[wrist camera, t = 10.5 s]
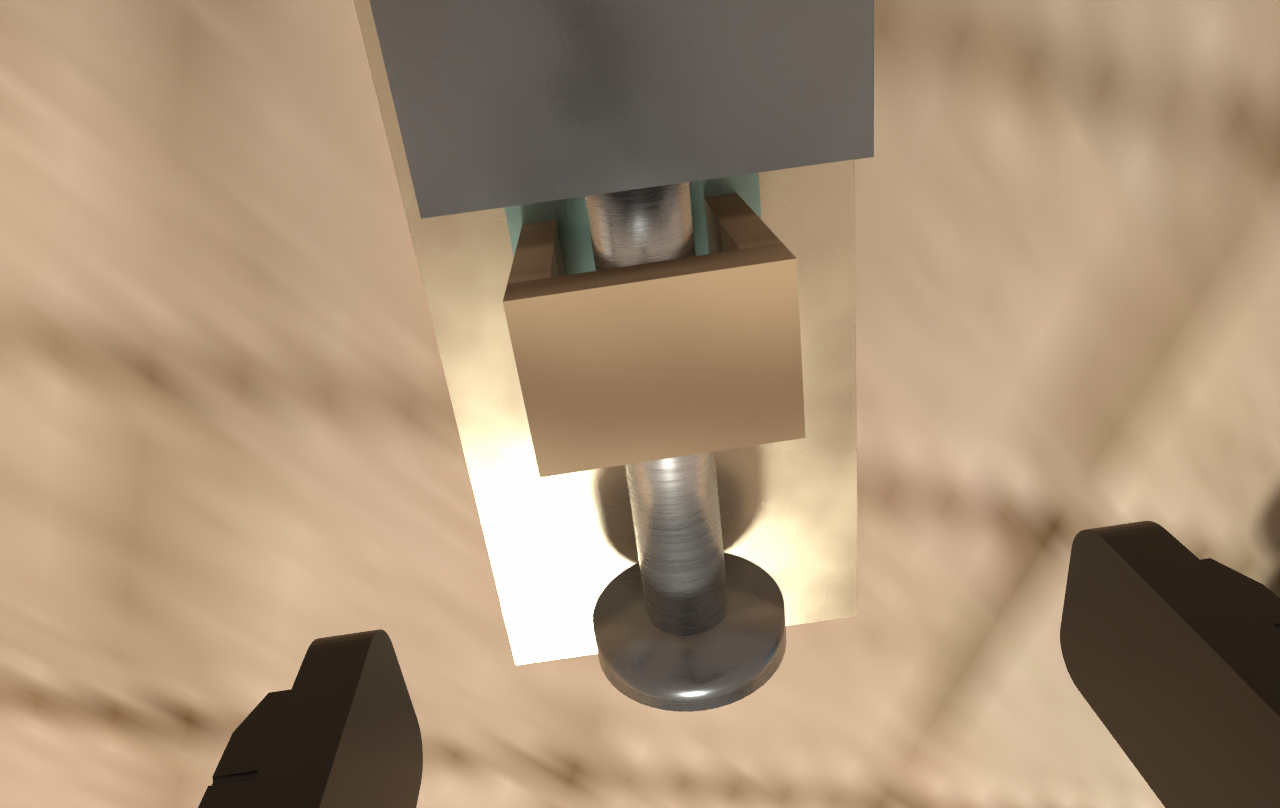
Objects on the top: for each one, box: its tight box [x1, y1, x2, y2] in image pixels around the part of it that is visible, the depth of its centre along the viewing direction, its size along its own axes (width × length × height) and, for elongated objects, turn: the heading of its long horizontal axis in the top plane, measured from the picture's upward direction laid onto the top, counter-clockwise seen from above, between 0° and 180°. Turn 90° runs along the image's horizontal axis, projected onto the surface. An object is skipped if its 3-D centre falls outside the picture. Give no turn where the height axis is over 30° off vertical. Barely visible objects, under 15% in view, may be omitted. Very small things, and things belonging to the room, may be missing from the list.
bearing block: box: [354, 0, 874, 665], centre depth 20 cm, size 26×12×9 cm, turn 7°
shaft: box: [585, 182, 786, 711], centre depth 21 cm, size 18×6×6 cm, turn 7°
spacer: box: [503, 193, 806, 477], centre depth 20 cm, size 4×6×7 cm
